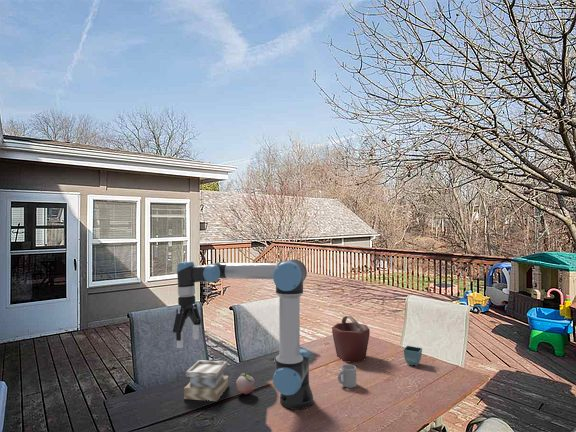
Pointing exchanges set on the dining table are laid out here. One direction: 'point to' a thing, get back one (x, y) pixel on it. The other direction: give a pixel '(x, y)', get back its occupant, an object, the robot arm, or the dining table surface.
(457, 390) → the dining table surface
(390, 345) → the dining table surface
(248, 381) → the decorative fruit
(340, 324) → the bucket
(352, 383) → the cup
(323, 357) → the dining table surface
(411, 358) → the flower pot
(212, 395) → the block tower
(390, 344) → the dining table surface
